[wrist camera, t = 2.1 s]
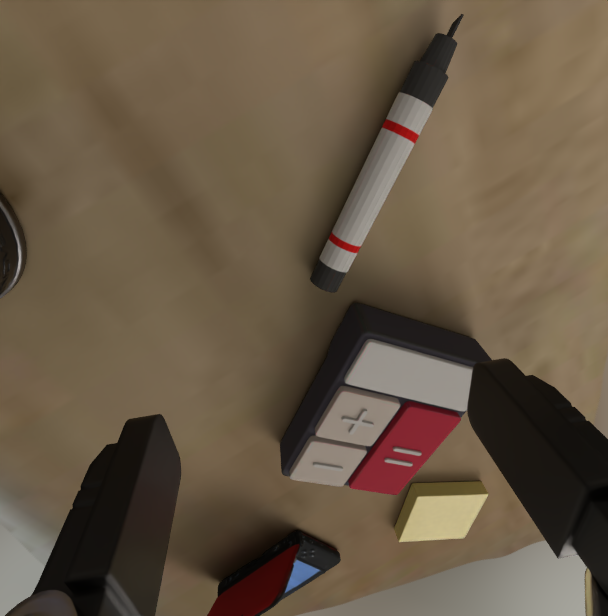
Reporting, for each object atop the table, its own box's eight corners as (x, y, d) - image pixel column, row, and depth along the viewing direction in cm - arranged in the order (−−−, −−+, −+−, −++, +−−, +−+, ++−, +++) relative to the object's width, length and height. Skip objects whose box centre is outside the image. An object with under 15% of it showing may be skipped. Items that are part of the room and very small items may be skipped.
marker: (334, 282, 26) (340, 296, 24) (307, 273, 25) (312, 286, 23) (464, 28, 19) (485, 22, 18) (433, 7, 19) (452, -1, 17)
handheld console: (265, 599, 46) (267, 682, 39) (193, 572, 41) (182, 661, 34) (343, 550, 42) (360, 631, 36) (275, 515, 38) (280, 601, 31)
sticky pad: (393, 528, 41) (398, 542, 40) (411, 482, 38) (417, 496, 36) (457, 525, 43) (464, 538, 41) (481, 480, 39) (489, 494, 38)
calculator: (280, 484, 30) (367, 337, 23) (277, 439, 33) (352, 300, 26) (400, 502, 33) (509, 377, 26) (385, 458, 36) (478, 339, 29)
